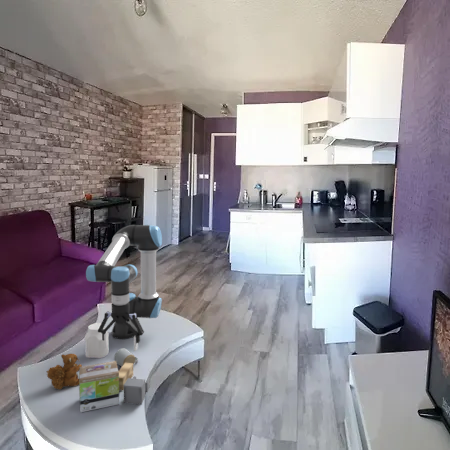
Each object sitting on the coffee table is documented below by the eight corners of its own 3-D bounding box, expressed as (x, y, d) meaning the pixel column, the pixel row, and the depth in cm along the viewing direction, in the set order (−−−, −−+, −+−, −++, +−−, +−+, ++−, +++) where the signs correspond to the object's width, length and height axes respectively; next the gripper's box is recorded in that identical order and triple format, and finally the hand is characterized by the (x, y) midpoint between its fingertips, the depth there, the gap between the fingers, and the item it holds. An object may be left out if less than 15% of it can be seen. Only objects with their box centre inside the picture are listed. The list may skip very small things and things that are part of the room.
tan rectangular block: (125, 374, 165) (125, 362, 164) (133, 375, 165) (133, 363, 164) (114, 389, 153) (114, 377, 152) (123, 390, 153) (122, 378, 152)
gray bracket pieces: (133, 385, 157) (133, 368, 155) (150, 386, 156) (150, 370, 155) (123, 402, 145) (123, 385, 144) (141, 404, 144) (141, 386, 143)
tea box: (80, 414, 138) (78, 379, 135) (79, 398, 147) (78, 366, 144) (119, 405, 144) (119, 371, 141) (116, 390, 153) (116, 359, 150)
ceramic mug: (123, 372, 167) (123, 357, 165) (114, 365, 172) (113, 350, 171) (141, 363, 175) (142, 349, 174) (132, 357, 180) (132, 343, 179)
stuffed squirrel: (86, 381, 158) (85, 354, 156) (55, 396, 148) (53, 367, 146) (75, 373, 165) (74, 347, 163) (44, 386, 154) (43, 358, 152)
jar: (82, 357, 178) (81, 330, 176) (90, 348, 187) (89, 321, 185) (104, 358, 178) (104, 331, 175) (111, 349, 187) (110, 322, 185)
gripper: (89, 303, 150) (90, 350, 153) (145, 307, 148) (145, 354, 151) (97, 297, 157) (98, 342, 160) (151, 301, 155) (150, 346, 158)
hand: (121, 348), depth 155 cm, fingers open, 13 cm apart
